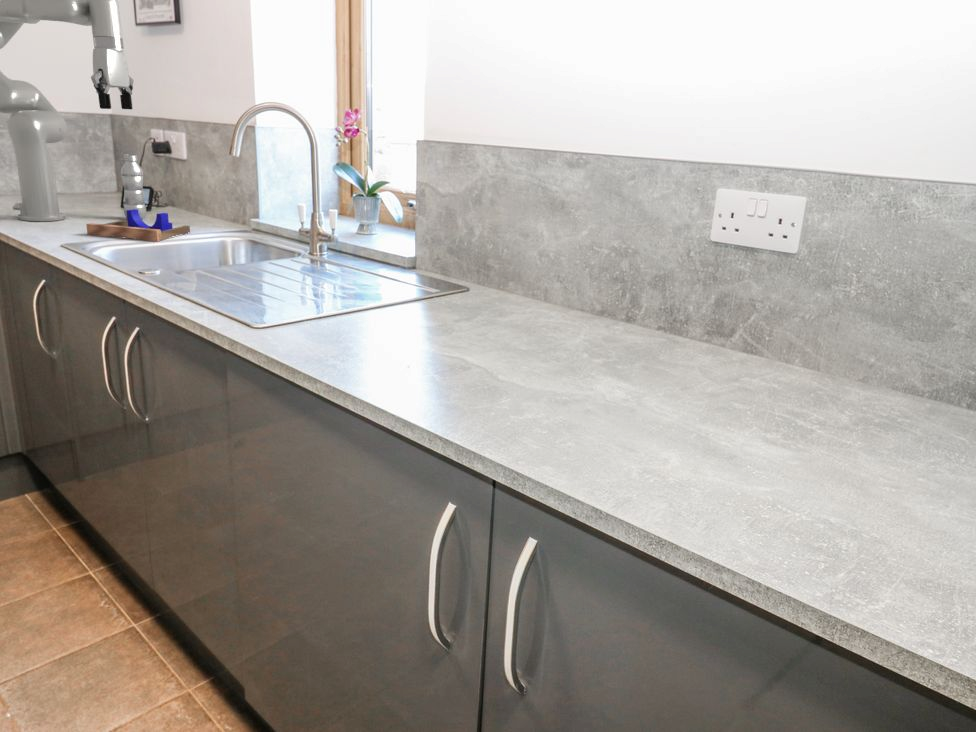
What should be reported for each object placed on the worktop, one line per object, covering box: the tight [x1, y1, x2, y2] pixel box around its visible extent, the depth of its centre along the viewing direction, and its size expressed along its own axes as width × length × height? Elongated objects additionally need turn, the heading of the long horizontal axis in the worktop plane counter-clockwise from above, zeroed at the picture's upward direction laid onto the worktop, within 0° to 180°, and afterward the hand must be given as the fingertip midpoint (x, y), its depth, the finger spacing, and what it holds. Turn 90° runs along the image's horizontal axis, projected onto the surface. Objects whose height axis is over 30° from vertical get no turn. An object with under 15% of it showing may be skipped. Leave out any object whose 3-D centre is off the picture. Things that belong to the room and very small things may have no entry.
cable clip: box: [126, 209, 174, 231], centre depth 219 cm, size 12×4×6 cm, turn 73°
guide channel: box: [85, 219, 191, 242], centre depth 214 cm, size 21×17×3 cm
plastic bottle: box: [120, 153, 148, 220], centre depth 235 cm, size 6×7×20 cm
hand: (116, 108), depth 214 cm, fingers open, 9 cm apart
